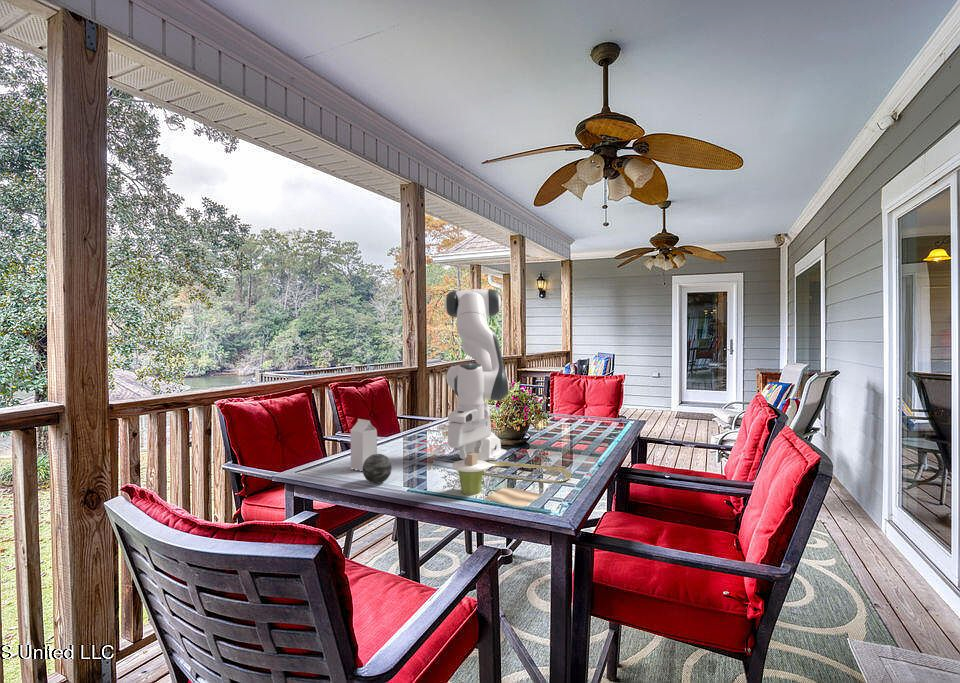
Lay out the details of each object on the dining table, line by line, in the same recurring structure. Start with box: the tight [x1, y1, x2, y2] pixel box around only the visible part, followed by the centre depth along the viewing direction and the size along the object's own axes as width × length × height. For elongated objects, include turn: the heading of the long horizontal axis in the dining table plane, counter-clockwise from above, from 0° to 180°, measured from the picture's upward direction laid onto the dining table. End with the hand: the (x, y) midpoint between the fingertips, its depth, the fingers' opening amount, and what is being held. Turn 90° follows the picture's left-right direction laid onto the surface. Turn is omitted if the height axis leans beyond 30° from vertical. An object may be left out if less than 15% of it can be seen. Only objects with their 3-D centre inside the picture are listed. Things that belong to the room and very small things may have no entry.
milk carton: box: [350, 418, 378, 472], centre depth 187 cm, size 7×7×19 cm
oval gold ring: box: [483, 461, 572, 484], centre depth 180 cm, size 19×35×2 cm, turn 67°
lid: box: [451, 452, 490, 472], centre depth 158 cm, size 12×12×4 cm
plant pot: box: [457, 470, 485, 496], centre depth 158 cm, size 9×9×9 cm
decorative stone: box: [362, 453, 393, 484], centre depth 169 cm, size 10×10×10 cm
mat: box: [482, 486, 544, 509], centre depth 153 cm, size 14×14×1 cm
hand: (470, 455), depth 158 cm, fingers open, 7 cm apart
